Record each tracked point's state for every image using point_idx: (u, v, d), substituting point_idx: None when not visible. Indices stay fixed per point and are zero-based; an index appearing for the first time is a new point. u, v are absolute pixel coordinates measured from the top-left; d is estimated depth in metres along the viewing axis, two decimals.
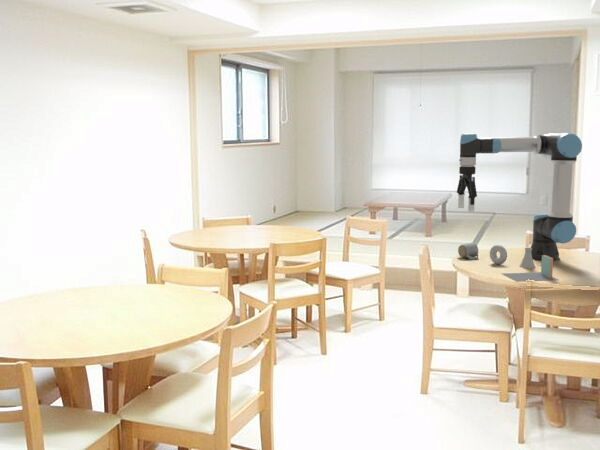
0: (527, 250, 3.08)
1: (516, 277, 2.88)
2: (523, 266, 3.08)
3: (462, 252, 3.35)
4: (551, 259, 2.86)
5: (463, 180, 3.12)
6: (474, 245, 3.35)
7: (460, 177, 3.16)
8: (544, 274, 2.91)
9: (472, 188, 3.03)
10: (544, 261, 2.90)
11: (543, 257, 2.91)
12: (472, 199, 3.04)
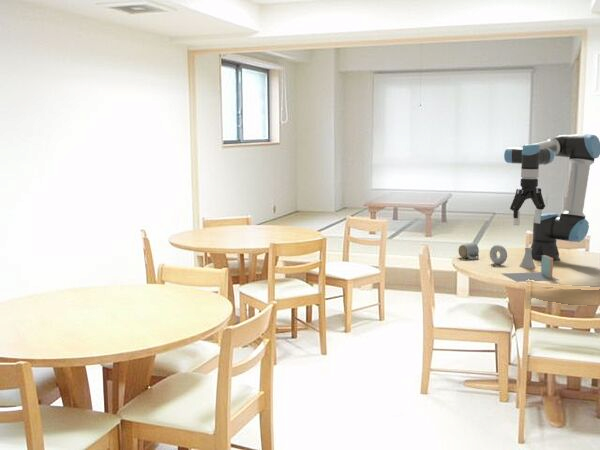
0: (527, 250, 3.08)
1: (516, 277, 2.88)
2: (523, 266, 3.08)
3: (463, 253, 3.34)
4: (551, 259, 2.86)
5: None
6: (474, 245, 3.35)
7: None
8: (544, 274, 2.91)
9: (514, 201, 2.92)
10: (544, 261, 2.90)
11: (543, 257, 2.91)
12: (514, 212, 2.92)
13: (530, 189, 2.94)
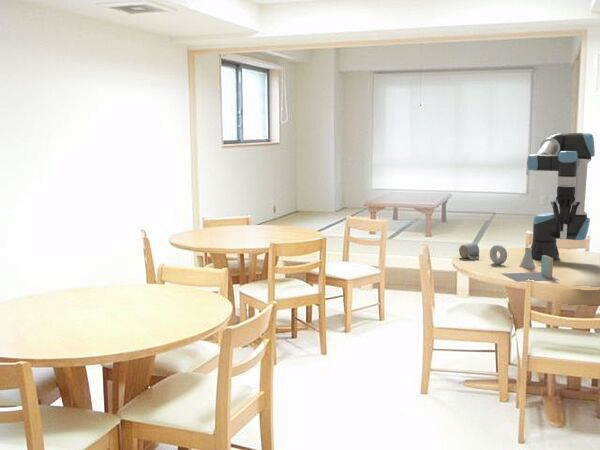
0: (527, 250, 3.08)
1: (516, 277, 2.88)
2: (523, 266, 3.08)
3: (463, 253, 3.34)
4: (551, 259, 2.86)
5: None
6: (475, 245, 3.34)
7: None
8: (544, 274, 2.91)
9: (554, 214, 2.87)
10: (544, 261, 2.90)
11: (543, 257, 2.91)
12: (559, 225, 2.88)
13: (566, 197, 2.85)
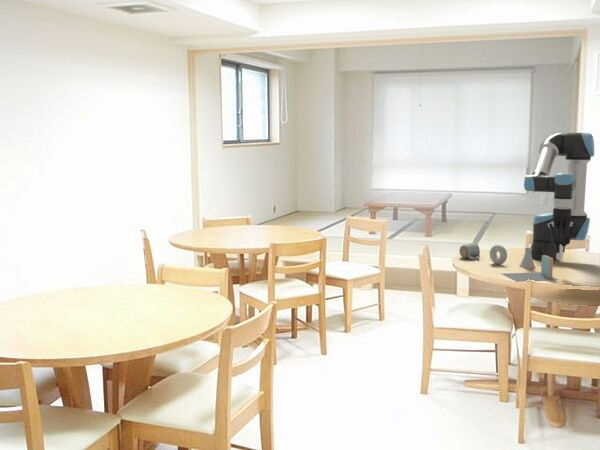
0: (527, 250, 3.08)
1: (516, 277, 2.88)
2: (523, 266, 3.08)
3: (464, 253, 3.34)
4: (551, 259, 2.86)
5: None
6: (475, 245, 3.34)
7: None
8: (544, 274, 2.91)
9: (550, 235, 2.88)
10: (544, 261, 2.90)
11: (543, 257, 2.91)
12: (555, 247, 2.89)
13: (562, 219, 2.86)
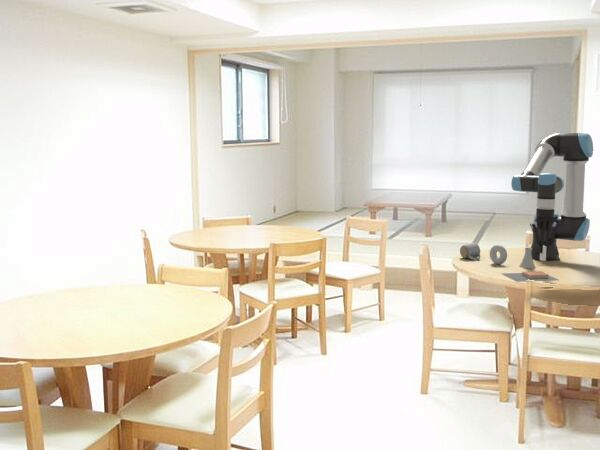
0: (527, 250, 3.08)
1: (516, 277, 2.88)
2: (523, 266, 3.08)
3: (464, 253, 3.33)
4: (530, 276, 2.86)
5: None
6: (476, 246, 3.34)
7: None
8: None
9: (534, 236, 2.87)
10: None
11: None
12: (539, 247, 2.88)
13: (545, 219, 2.85)
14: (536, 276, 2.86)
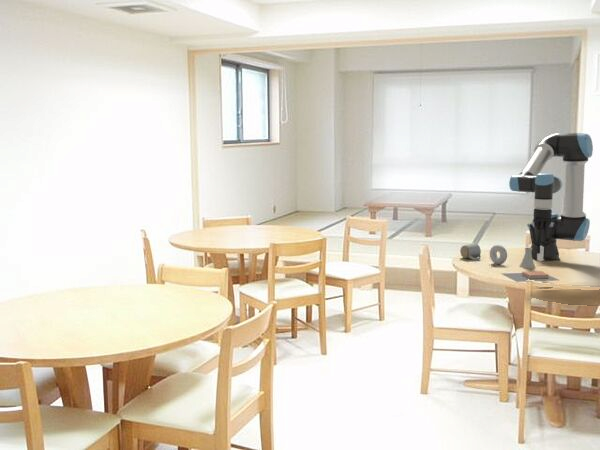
0: (527, 250, 3.08)
1: (516, 277, 2.88)
2: (523, 266, 3.08)
3: (465, 253, 3.33)
4: (530, 276, 2.86)
5: None
6: (476, 246, 3.33)
7: None
8: None
9: (531, 236, 2.87)
10: None
11: None
12: (536, 247, 2.88)
13: (543, 220, 2.85)
14: (536, 276, 2.86)
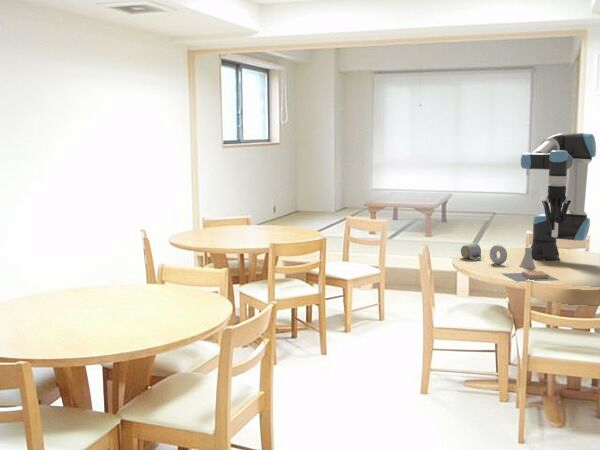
0: (527, 250, 3.08)
1: (516, 277, 2.88)
2: (523, 266, 3.08)
3: (465, 253, 3.33)
4: (530, 276, 2.86)
5: None
6: (477, 246, 3.33)
7: None
8: None
9: (545, 213, 2.89)
10: None
11: None
12: (551, 224, 2.90)
13: (557, 196, 2.87)
14: (536, 276, 2.86)
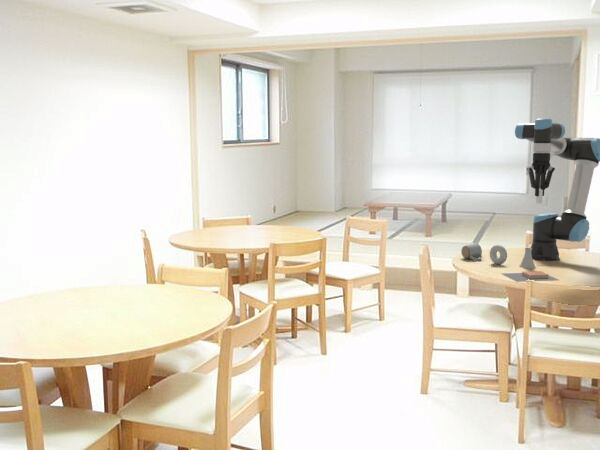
0: (527, 250, 3.08)
1: (516, 277, 2.88)
2: (523, 266, 3.08)
3: (466, 253, 3.32)
4: (530, 276, 2.86)
5: None
6: (477, 246, 3.32)
7: None
8: None
9: (530, 179, 2.98)
10: None
11: None
12: (535, 190, 2.99)
13: (542, 163, 2.96)
14: (536, 276, 2.86)
